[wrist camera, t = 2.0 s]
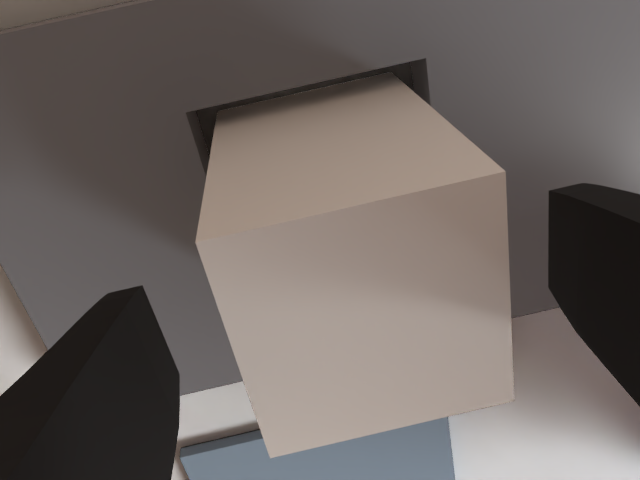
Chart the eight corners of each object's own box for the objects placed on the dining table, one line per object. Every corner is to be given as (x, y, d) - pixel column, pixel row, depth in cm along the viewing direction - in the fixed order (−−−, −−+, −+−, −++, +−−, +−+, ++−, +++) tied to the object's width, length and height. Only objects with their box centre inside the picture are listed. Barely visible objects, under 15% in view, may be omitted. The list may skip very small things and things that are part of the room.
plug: (390, 71, 14) (505, 171, 8) (411, 226, 16) (514, 401, 10) (217, 110, 14) (195, 242, 8) (260, 260, 16) (270, 458, 10)
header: (626, -110, 13) (670, -116, 11) (604, 263, 17) (633, 289, 16) (-75, 47, 12) (-112, 59, 11) (97, 381, 17) (85, 417, 16)
